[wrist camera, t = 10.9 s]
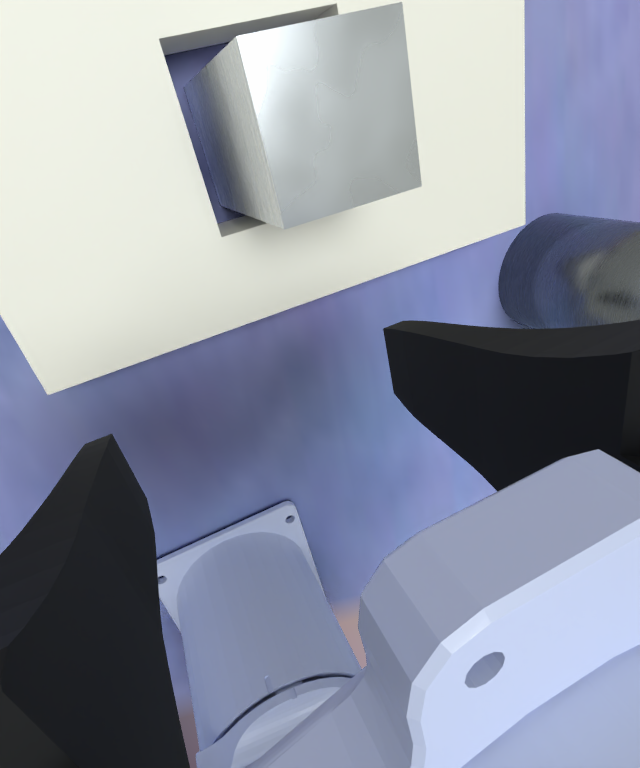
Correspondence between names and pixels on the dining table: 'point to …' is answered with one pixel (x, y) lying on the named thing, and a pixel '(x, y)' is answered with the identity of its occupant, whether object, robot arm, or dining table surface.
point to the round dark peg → (572, 272)
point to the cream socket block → (186, 185)
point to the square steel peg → (309, 117)
